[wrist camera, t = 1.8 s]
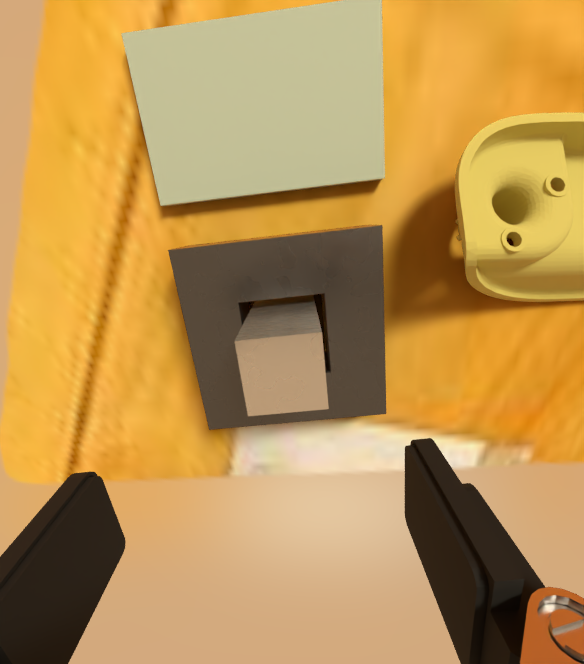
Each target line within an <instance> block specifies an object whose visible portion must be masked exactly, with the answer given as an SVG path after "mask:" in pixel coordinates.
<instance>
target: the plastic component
mask: <svg viewBox="0 0 584 664" xmlns="http://www.w3.org/2000/svg"><path fill="white" fill-rule="evenodd" d="M455 201H456V210H457V216H458V218H457V219H456V221H455V223H456V224H458V232H459V235H458V236H457V240H458V241H461V240H462V248H463V255H464V264H465V273H466V278H467V281H468V282H469V283H470V285H471V286H472V287H474V288H475V289H476V290H478V291H479V292H481V293H483V294H486V295H488V296H491V297H495V298H499V299H504V300H511V301H524V302H554V301H584V113H537V114H525V115H518V116H512V117H508V118H504V119H501V120H498V121H496V122H494V123H491V124H490V125H488V126H486V127H485V128H483V129H482V130H481V131H480V132H479V133H477V134H476V135H475V136H474V138H473V139H472V140H471V141H470V143H469V144H468V146H467V147H466V149H465V150H464V152H463V154H462V156H461V158H460V160H459V163H458V166H457V170H456V175H455ZM509 238H511V239H512V241H513V245H514V246H510V245H509V244H508V243H507V239H509Z"/></svg>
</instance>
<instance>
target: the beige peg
mask: <svg viewBox="0 0 584 664" xmlns="http://www.w3.org/2000/svg"><path fill="white" fill-rule="evenodd" d="M235 347H236V353H237V358H238V364H239V369H240V375H241V380H242V386H243V391H244V397H245V402H246V408H247V414H248V416H258V415H269V414H280V413H291V412H302V411H313V410H324V409H329V406H328V395H327V383H326V372H325V360H324V349H323V337H322V330H321V326H320V321H319V317H318V313H317V309H316V305H315V301H314V297H313V295H305V296H295V297H286V298H277V299H267V300H258V301H255V302H254V304H253V306H252V308H251V310H250V312H249V314H248V316H247V318H246V319H245V321H244V323H243V325H242V327H241V329H240V331H239V333H238V335H237V337H236V339H235Z"/></svg>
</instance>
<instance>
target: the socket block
mask: <svg viewBox="0 0 584 664" xmlns="http://www.w3.org/2000/svg"><path fill="white" fill-rule="evenodd" d="M168 251H169V256H170V260H171V264H172V269H173V273H174V277H175V282H176V286H177V291H178V295H179V299H180V304H181V308H182V312H183V317H184V321H185V326H186V330H187V334H188V339H189V343H190V347H191V352H192V356H193V361H194V365H195V369H196V374H197V378H198V382H199V387H200V391H201V396H202V400H203V404H204V409H205V413H206V417H207V422H208V426H209V430H211V429H222V428H233V427H244V426H256V425H267V424H278V423H289V422H300V421H311V420H323V419H334V418H345V417H356V416H367V415H379V414H386V381H385V333H384V285H383V237H382V225H362V226H354V227H345V228H337V229H328V230H319V231H311V232H302V233H294V234H285V235H277V236H268V237H259V238H251V239H242V240H234V241H225V242H216V243H208V244H199V245H191V246H185V247H180V248H176V249H171V250H168ZM314 294H321V296H322V308H323V320H324V332H325V343H326V352H324V360H325V372H326V383H327V395H328V406H329V409H324V410H313V411H302V412H291V413H280V414H269V415H258V416H248V414H247V408H246V402H245V397H244V391H243V386H242V380H241V375H240V369H239V364H238V358H237V353H236V347H235V339H236V337H237V335H238V333H239V331H240V329H241V327H242V325H243V323H244V321H245V319H246V318H247V316H248V314H249V312H250V310H249V304H248V302H249V301H258V300H267V299H277V298H286V297H295V296H305V295H314Z"/></svg>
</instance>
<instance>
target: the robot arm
mask: <svg viewBox="0 0 584 664" xmlns="http://www.w3.org/2000/svg"><path fill="white" fill-rule="evenodd" d="M405 518H406V522H407V526H408V529H409V531H410V534H411V536H412V539H413V542H414V544H415V547H416V549H417V552H418V554H419V557H420V560H421V562H422V565H423V567H424V570H425V572H426V575H427V578H428V580H429V583H430V585H431V588H432V591H433V593H434V596H435V598H436V601H437V603H438V606H439V609H440V611H441V614H442V616H443V619H444V621H445V624H446V626H447V629H448V632H449V634H450V637H451V639H452V642H453V645H454V647H455V650H456V652H457V655H458V658H459V660H460V662H461V664H584V598H582V597H580V596H578V595H577V594H574V593H572V592H569V591H566V590H564V589H560V588H553V587H545V586H544V585H543V583H542V582H541V580H540V579H539V578H538V576H537V575H536V573H535V572H534V570H533V569H532V568H531V566H530V565H529V563H528V562H527V560H526V559H525V557H524V556H523V555H522V553H521V552H520V550H519V549H518V547H517V546H516V545H515V543H514V542H513V540H512V539H511V537H510V536H509V535H508V533H507V532H506V530H505V529H504V527H503V526H502V525H501V523H500V522H499V520H498V519H497V518H496V516H495V515H494V513H493V512H492V510H491V509H490V507H489V506H488V505H487V503H486V502H485V500H484V499H483V497H482V496H481V495H480V493H479V492H478V490H477V489H476V488H475V487H474V486H473V485H472V484H470V483H469V484H468V483H467V484H462V483H461V482H460V480H459V479H458V478H457V476H456V474H455V473H454V471H453V470H452V468H451V466H450V465H449V463H448V462H447V460H446V459H445V457H444V456H443V454H442V453H441V451H440V450H439V448H438V447H437V445H436V444H435V442H434V441H433V440H432V439H431V438H428V439H418V440H412V441H411V445H409V446H406V447H405ZM124 549H125V537H124V535H123V532H122V530H121V527H120V524H119V522H118V519H117V516H116V514H115V511H114V509H113V506H112V503H111V501H110V498H109V495H108V493H107V490H106V488H105V485H104V482H103V480H102V478H101V477H100V476H97V474H96V473H95V472H83V473H74V474H72V475H70V476H69V477H68V478H67V480H66V481H65V482H64V483H63V484H62V485H61V487H60V488H59V489H58V490H57V491H56V493H55V494H54V495H53V496H52V497H51V498H50V499H49V501H48V502H47V503H46V504H45V505H44V506H43V508H42V509H41V510H40V511H39V512H38V513H37V515H36V516H35V517H34V518H33V519H32V520H31V522H30V523H29V524H28V525H27V526H26V527H25V529H24V530H23V531H22V532H21V533H20V535H19V536H18V537H17V538H16V539H15V540H14V541H13V543H12V544H11V545H10V546H9V547H8V549H7V550H6V551H5V552H4V553H3V554H2V555H1V557H0V664H68V662H69V661H70V659H71V656H72V655H73V653H74V651H75V649H76V647H77V645H78V643H79V640H80V639H81V637H82V635H83V633H84V631H85V628H86V627H87V625H88V623H89V621H90V618H91V617H92V614H93V612H94V611H95V608H96V607H97V605H98V602H99V601H100V599H101V596H102V594H103V592H104V590H105V588H106V586H107V584H108V582H109V580H110V578H111V576H112V574H113V572H114V570H115V568H116V566H117V564H118V562H119V560H120V558H121V556H122V554H123V552H124Z"/></svg>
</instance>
